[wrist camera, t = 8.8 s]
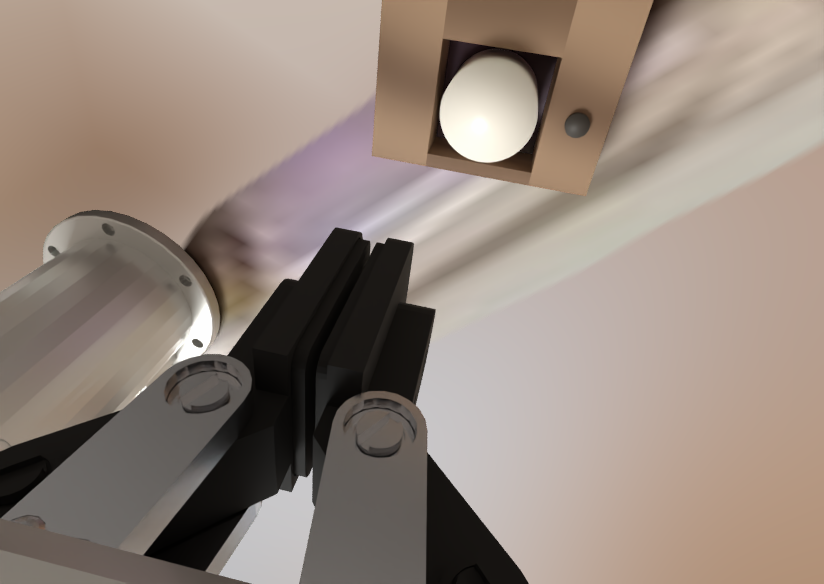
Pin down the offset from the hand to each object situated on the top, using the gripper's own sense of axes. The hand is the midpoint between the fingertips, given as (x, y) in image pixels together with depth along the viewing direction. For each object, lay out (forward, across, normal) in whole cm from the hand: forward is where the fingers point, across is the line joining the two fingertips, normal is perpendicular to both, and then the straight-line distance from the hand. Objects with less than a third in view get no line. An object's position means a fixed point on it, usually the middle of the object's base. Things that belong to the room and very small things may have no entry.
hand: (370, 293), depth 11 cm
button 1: (+16, -2, -1) cm, 16 cm away
